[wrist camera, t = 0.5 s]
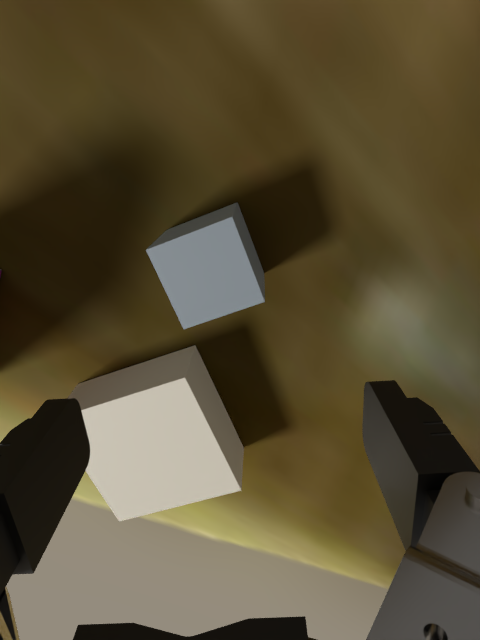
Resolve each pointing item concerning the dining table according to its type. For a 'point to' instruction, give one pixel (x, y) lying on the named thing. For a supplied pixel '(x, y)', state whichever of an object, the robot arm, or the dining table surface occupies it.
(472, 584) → the robot arm
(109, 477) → the cream block
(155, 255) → the slate cube
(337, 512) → the dining table surface
